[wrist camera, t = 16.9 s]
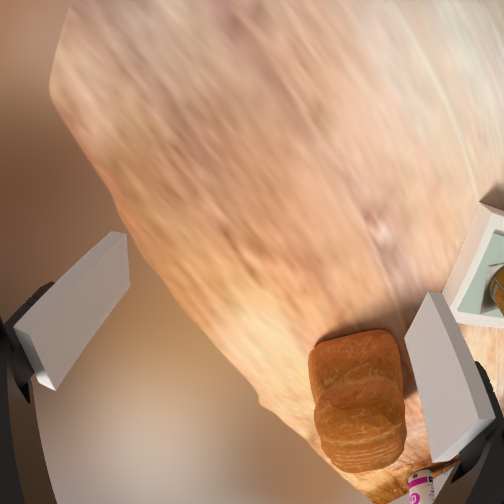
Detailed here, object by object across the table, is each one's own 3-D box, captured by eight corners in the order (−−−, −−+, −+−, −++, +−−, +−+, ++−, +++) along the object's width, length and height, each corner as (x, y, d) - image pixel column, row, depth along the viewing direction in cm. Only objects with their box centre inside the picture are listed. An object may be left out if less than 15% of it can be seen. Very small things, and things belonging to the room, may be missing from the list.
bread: (331, 419, 63) (330, 487, 48) (302, 340, 52) (296, 427, 37) (401, 405, 58) (411, 473, 43) (394, 319, 48) (416, 405, 33)
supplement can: (403, 478, 78) (406, 515, 65) (417, 468, 74) (421, 507, 61) (421, 477, 78) (425, 513, 65) (435, 468, 74) (440, 505, 61)
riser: (478, 201, 36) (493, 214, 32) (540, 225, 35) (555, 238, 31) (435, 305, 45) (443, 323, 41) (497, 314, 44) (507, 331, 40)
